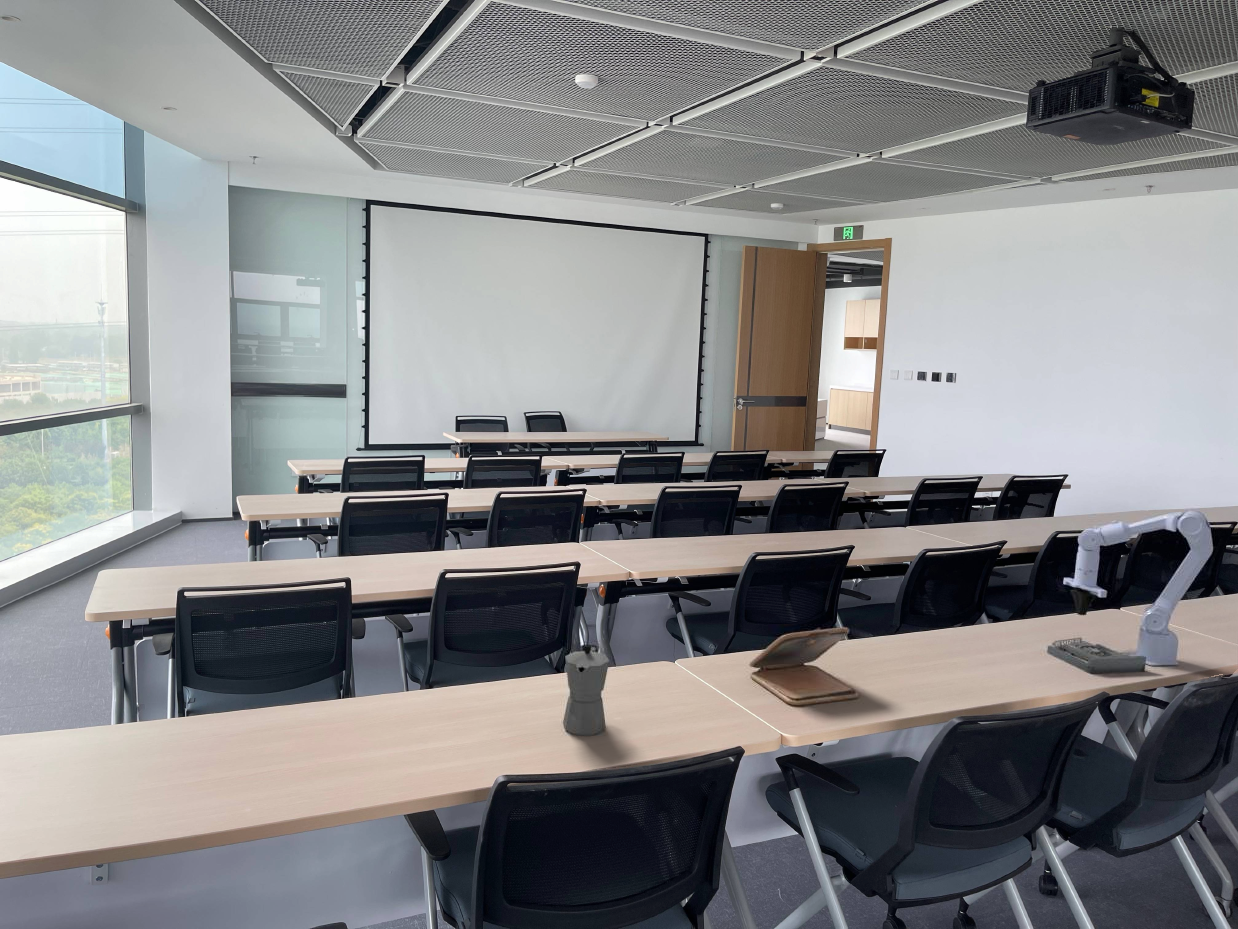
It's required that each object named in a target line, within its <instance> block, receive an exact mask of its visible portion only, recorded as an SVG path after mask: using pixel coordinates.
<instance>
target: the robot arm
mask: <svg viewBox="0 0 1238 929" xmlns="http://www.w3.org/2000/svg"><path fill="white" fill-rule="evenodd" d="M1159 530H1167V531H1171V532H1177V530H1178V531H1179V533H1181V535H1182V536H1183V538H1186V541H1187V543H1188V545H1189V548H1190V550H1188V551H1189V552H1188V553H1187V555H1186V556H1185V558H1184V559H1183V560H1182V562H1181V564H1179V566H1178V568H1177V569H1176V571H1175V572H1174V574H1173V575H1172V577H1171V578H1170V580H1169V581H1168V582H1167V584H1166V586H1165V587H1164V589H1163V590H1162V592H1161V593H1160V595H1159V596H1158V597H1157V598H1156V600H1155V602H1153V603H1152V604H1150V605H1148V606H1147V607H1146V608H1145V610H1144V614H1143V615H1142V617H1141V623H1142V624H1141V625H1139V632H1138V639H1137V648H1136V653H1129V654H1128V656H1144V657H1146V665H1149V666H1150V667H1151V666H1155V667H1156V666H1177V665H1179V662H1177V659H1178V658H1177V657H1178V649H1179V638H1178V635H1177V634H1176V633H1175V632H1174V631H1172V630H1170V629H1169V624H1170V623H1169V622H1170V620H1171V617H1172V614H1173V612H1174V611H1175V609H1176V607H1177V605H1178V604H1179V602H1180V601H1181V600H1182V598H1183V597H1184V595H1185V593H1186V592H1187V591H1188V589H1189V588H1190V587H1191V586H1192V583H1193V582H1194V581H1195V578H1196V577H1197V576H1198V574H1199V573H1200V572H1201V571H1202V569H1203V568H1204V566H1205V564H1206V563H1207V562H1208V560H1209V558H1210V557H1211V556H1212V554H1213V551H1214V546H1213V537H1212V532H1211V531H1212V530H1211V524H1210V522H1209V520H1208V519H1207V517H1206V516H1205V514H1204V513H1202V512H1201V511H1198V510H1194V509H1190V510H1186V511H1184V512H1183V511H1177V512H1170V513H1165V514H1162V515H1159V516H1158V515H1157V516H1155V517H1151V518H1147V519H1143V520H1140V521H1137V522H1132V523H1127V522H1124V521H1118V520H1113V521H1111V523H1109V524H1105V525H1101V526H1099V525H1095V526H1093V528H1086V529H1085V530H1082V532H1081V533H1080V534H1079V535H1078V538H1077V543H1078V547H1077V553H1076V560H1075V570H1074V571H1075V572H1074V578H1071V577H1063V581H1062V582H1063V585H1066V586H1070V587H1072V588H1073V589H1070V594H1071V596H1072V598H1073V600H1074V604H1075V611H1076V614H1077V615H1079V616H1086V615H1087V613H1088V611H1089V608H1090V606H1091V604H1092V603H1093V601H1094V600H1095V599H1096V598H1097V597H1098V598H1107V594H1108V591H1107V590H1105V589H1103V588H1102V587H1100V586H1098V585H1097V579H1098V571H1099V566H1100V564H1099V563H1100V551H1101V548H1100V547H1101V546H1104V547H1107V546H1111V545H1115V544H1119V543H1124V542H1128V541H1130V540H1131V538H1132V537H1133V535H1138V534H1143V533H1150V532H1154V531H1159Z"/></svg>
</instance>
